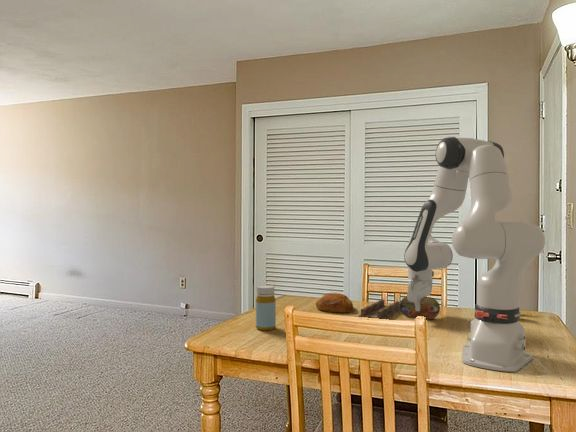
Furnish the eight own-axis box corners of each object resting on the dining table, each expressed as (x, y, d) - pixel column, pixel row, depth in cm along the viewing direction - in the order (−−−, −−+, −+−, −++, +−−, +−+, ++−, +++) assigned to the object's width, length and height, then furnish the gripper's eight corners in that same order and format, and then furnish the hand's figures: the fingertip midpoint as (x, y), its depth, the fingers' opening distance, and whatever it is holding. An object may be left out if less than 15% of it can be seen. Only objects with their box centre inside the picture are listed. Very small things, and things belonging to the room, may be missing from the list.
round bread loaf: (344, 320, 186) (346, 301, 185) (310, 310, 194) (312, 292, 193) (358, 312, 198) (361, 294, 197) (326, 303, 206) (328, 285, 205)
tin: (399, 316, 183) (399, 295, 182) (401, 314, 186) (401, 293, 185) (439, 320, 176) (439, 298, 175) (440, 319, 178) (440, 297, 178)
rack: (382, 321, 175) (382, 312, 175) (358, 318, 180) (358, 309, 180) (402, 310, 194) (402, 301, 193) (379, 307, 199) (379, 299, 199)
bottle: (273, 331, 162) (272, 288, 161) (253, 330, 163) (253, 287, 163) (277, 326, 169) (277, 285, 168) (258, 325, 170) (258, 284, 170)
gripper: (420, 278, 170) (419, 316, 170) (435, 271, 187) (435, 305, 187) (403, 277, 173) (403, 314, 173) (419, 270, 190) (419, 303, 191)
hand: (419, 309), depth 181 cm, fingers closed on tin, 3 cm apart
